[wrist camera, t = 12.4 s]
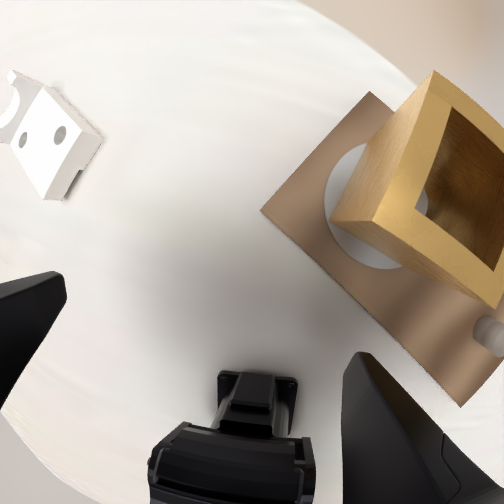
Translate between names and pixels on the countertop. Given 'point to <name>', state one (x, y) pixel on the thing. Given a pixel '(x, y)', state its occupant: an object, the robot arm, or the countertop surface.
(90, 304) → the countertop surface
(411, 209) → the gold square tube
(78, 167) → the bracket
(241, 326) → the countertop surface
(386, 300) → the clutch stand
